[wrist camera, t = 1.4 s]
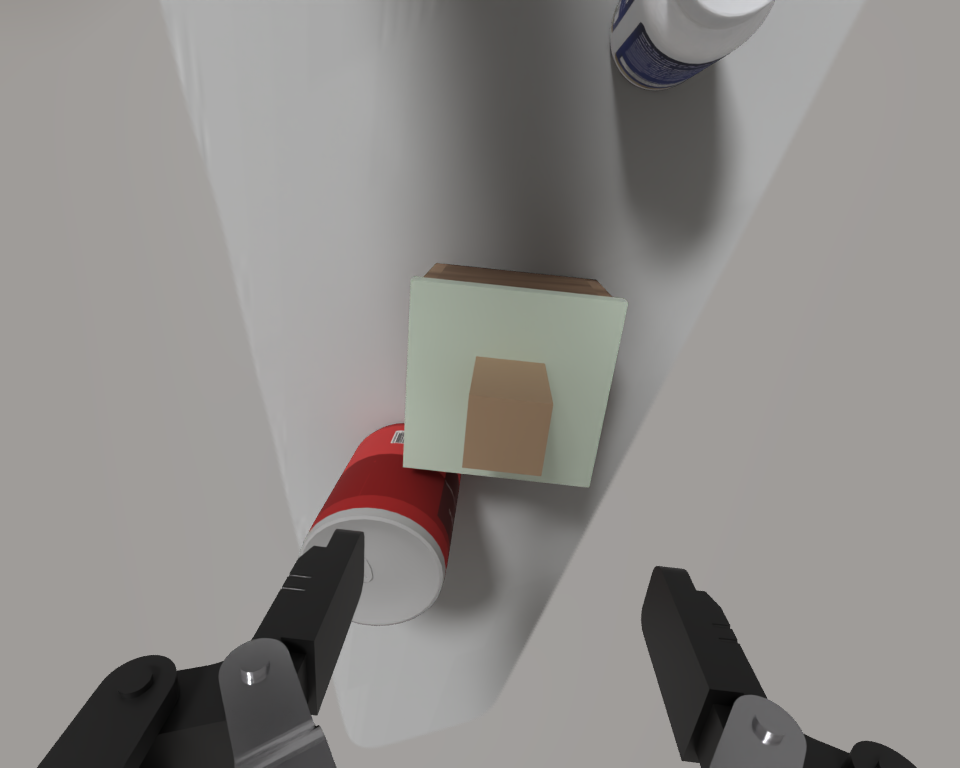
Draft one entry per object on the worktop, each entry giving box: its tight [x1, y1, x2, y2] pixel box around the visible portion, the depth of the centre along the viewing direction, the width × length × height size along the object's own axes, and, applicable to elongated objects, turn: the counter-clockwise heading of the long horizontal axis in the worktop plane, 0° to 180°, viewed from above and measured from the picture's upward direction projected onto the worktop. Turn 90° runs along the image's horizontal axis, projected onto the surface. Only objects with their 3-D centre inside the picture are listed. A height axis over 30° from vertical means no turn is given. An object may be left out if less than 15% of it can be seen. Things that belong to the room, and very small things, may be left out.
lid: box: [403, 276, 628, 488], centre depth 24 cm, size 10×10×6 cm
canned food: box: [299, 423, 461, 626], centre depth 31 cm, size 8×8×11 cm
